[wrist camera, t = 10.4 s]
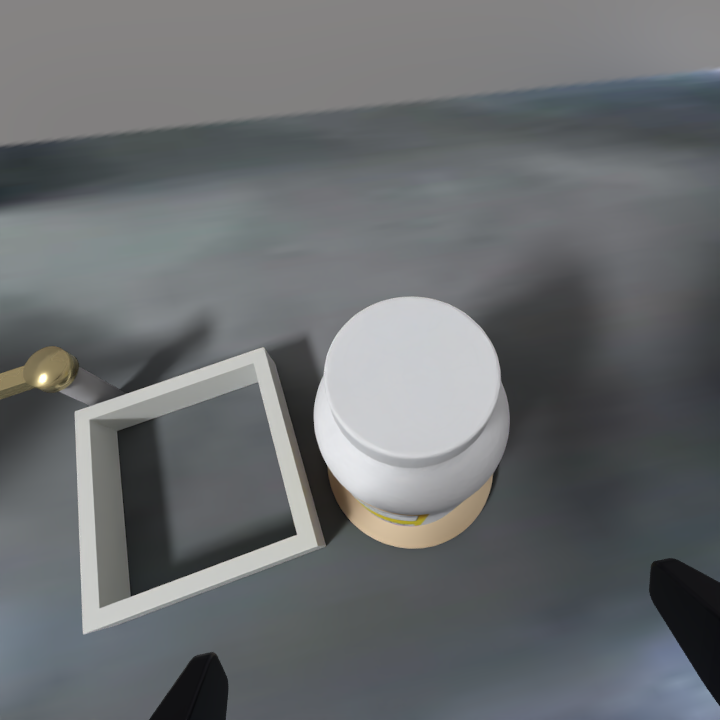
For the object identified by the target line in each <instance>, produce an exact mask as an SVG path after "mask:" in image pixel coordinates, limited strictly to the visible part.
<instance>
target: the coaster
mask: <svg viewBox="0 0 720 720" xmlns="http://www.w3.org/2000/svg"><path fill="white" fill-rule="evenodd" d="M327 468H328V476H329V481H330V485H331V488H332V491H333V494H334V496H335V499H336V501H337V502H338V504H339V506H340V508H341V509H342V511H343V512H344V513H345V515H346V516H347V517H348V519H349V520H350V521H351V522H352V523H353V524H354V525H355V526H356V527H357V528H359V529H360V530H361V531H363V532H364V533H365V534H367V535H368V536H370V537H372V538H374V539H375V540H378V541H380V542H382V543H385V544H388V545H391V546H395V547H401V548H425V547H431V546H435V545H438V544H441V543H444V542H446V541H448V540H450V539H452V538H454V537H456V536H457V535H458V534H460V533H461V532H463V531H464V530H465V529H466V528H467V527H468V526H469V525H470V524H471V523H472V522H473V521H474V520H475V519H476V517H477V516H478V515H479V514H480V512H481V510H482V508H483V507H484V505H485V503H486V500H487V498H488V495H489V493H490V489H491V485H492V479H493V474H492V475H491V477H490V478H489V479H488V481H487V482H486V483H485V484H484V485H483V486H482V487H481V488H480V489H479V490H478V491H476V492H475V493H474V494H473V495H471V496H470V497H469V498H467V499H466V500H465V501H463V502H462V503H461V504H460V505H459V506H458V507H456V508H455V509H454V510H452V511H451V512H450V513H448V514H447V515H446V516H444V517H443V518H441V519H439V520H437V521H435V522H432V523H429V524H426V525H421V526H400V525H395V524H391V523H389V522H386V521H384V520H382V519H379V518H378V517H376V516H374V515H373V514H372V513H370V512H369V511H368V510H366V509H365V508H364V507H363V506H362V505H361V504H360V503H359V502H358V501H357V500H356V499H355V497H354V496H353V495H352V494H351V493H350V492H349V491H348V490H347V489H346V488H345V487H344V486H342V484H341V483H340V482H339V481H338V480H337V479H336V477H335V476H334V475H333V473H332V472H331V470H330V469H329V467H328V466H327Z"/></svg>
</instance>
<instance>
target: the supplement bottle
mask: <svg viewBox="0 0 720 720" xmlns="http://www.w3.org/2000/svg"><path fill="white" fill-rule="evenodd" d="M509 426H510V414H509V405H508V400H507V396H506V393H505V390H504V387H503V385H502V382H501V370H500V365H499V360H498V356H497V353H496V351H495V348H494V346H493V344H492V342H491V340H490V339H489V338H488V336H487V335H486V333H485V332H484V330H483V329H482V328H481V327H480V326H479V325H478V324H477V323H476V322H475V321H474V320H473V319H472V318H470V317H469V316H468V315H467V314H465V313H464V312H462V311H461V310H459V309H458V308H456V307H454V306H452V305H449V304H447V303H445V302H442V301H439V300H435V299H431V298H425V297H398V298H392V299H388V300H384V301H381V302H378V303H375V304H373V305H371V306H369V307H367V308H365V309H364V310H362V311H360V312H359V313H357V314H356V315H355V316H353V317H352V318H351V319H350V320H349V321H348V322H347V323H346V324H345V325H344V326H343V327H342V328H341V330H340V331H339V332H338V333H337V335H336V337H335V338H334V340H333V342H332V344H331V346H330V348H329V351H328V354H327V357H326V362H325V368H324V376H323V378H322V380H321V382H320V385H319V388H318V391H317V395H316V399H315V405H314V429H315V435H316V439H317V442H318V445H319V448H320V451H321V454H322V456H323V458H324V460H325V462H326V464H327V466H328V467H329V469H330V470H331V472H332V473H333V475H334V476H335V477H336V479H337V480H338V481H339V482H340V483H341V484H342V486H344V487H345V488H346V489H347V490H348V491H349V492H350V493H351V494H352V495H353V496H354V497H355V499H356V500H357V501H358V502H359V503H360V504H361V505H362V506H363V507H364V508H365V509H366V510H368V511H369V512H370V513H372V514H373V515H374V516H376V517H378V518H379V519H382V520H384V521H386V522H389V523H391V524H395V525H400V526H421V525H426V524H429V523H432V522H435V521H437V520H439V519H441V518H443V517H444V516H446V515H447V514H448V513H450V512H451V511H452V510H454V509H455V508H456V507H458V506H459V505H460V504H461V503H462V502H463V501H465V500H466V499H467V498H469V497H470V496H471V495H473V494H474V493H475V492H476V491H478V490H479V489H480V488H481V487H482V486H483V485H484V484H485V483H486V482H487V481H488V479H489V478H490V477H491V475H492V474H493V473H494V471H495V470H496V468H497V466H498V464H499V462H500V460H501V458H502V456H503V453H504V451H505V448H506V444H507V440H508V435H509Z"/></svg>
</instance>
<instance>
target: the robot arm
mask: <svg viewBox="0 0 720 720" xmlns="http://www.w3.org/2000/svg"><path fill="white" fill-rule="evenodd" d="M649 592H650V596H651V599H652V601H653V603H654V605H655V606H656V608H657V610H658V611H659V613H660V614H661V616H662V618H663V619H664V621H665V622H666V624H667V626H668V627H669V629H670V630H671V632H672V634H673V635H674V637H675V638H676V640H677V642H678V643H679V645H680V647H681V648H682V650H683V651H684V653H685V655H686V656H687V658H688V659H689V661H690V663H691V664H692V666H693V667H694V669H695V671H696V672H697V674H698V675H699V677H700V678H701V680H702V681H703V683H704V684H705V686H706V687H707V689H708V690H709V692H710V693H711V695H712V696H713V697H714V699H715V700H716V702H717V703H718V704H719V706H720V582H718V581H716V580H714V579H712V578H710V577H709V576H707V575H705V574H703V573H701V572H699V571H698V570H696V569H694V568H692V567H690V566H688V565H686V564H685V563H683V562H681V561H679V560H676V559H673V558H668V559H663V560H658V561H654V562H653V563H652V564H651V571H650V585H649ZM227 700H228V679H227V676H226V674H225V672H224V669H223V667H222V665H221V663H220V661H219V658H218V656H217V655H216V654H215V653H214V652H210V653H205V654H200V655H197V656H195V657H193V658H192V659H191V661H190V662H189V663H188V665H187V666H186V668H185V669H184V670H183V672H182V673H181V675H180V676H179V678H178V679H177V680H176V682H175V683H174V685H173V686H172V688H171V689H170V690H169V692H168V693H167V695H166V696H165V698H164V699H163V700H162V702H161V703H160V705H159V706H158V708H157V709H156V710H155V712H154V713H153V715H152V716H151V718H150V719H149V720H226V710H227Z"/></svg>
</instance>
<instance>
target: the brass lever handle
mask: <svg viewBox="0 0 720 720" xmlns="http://www.w3.org/2000/svg"><path fill="white" fill-rule="evenodd" d="M78 371H79V363H78V360H77V359H76V358H75V357H74V356H73V355H71V354H69V353H68V352H66V351H64V350H62V349H61V348H59V347H55V346H50V347H45V348H42V349H40V350H38V351H37V352H35V353H34V354H33V355H32V356H31V357H30V358H29V359H28V361H27V362H26V364H25V366H22V367H19V368H16V369H13V370H10V371H7V372H4V373H1V374H0V400H1V399H4V398H6V397H9V396H12V395H15V394H18V393H21V392H24V391H27V390H30V389H33V388H38V389H40V390H42V391H45V392H48V393H55V392H59V391H61V390H63V389H65V388H66V387H68V386H69V385H70V384H71V383H72V382H73V381H74V379H75V378H76V376H77V374H78Z"/></svg>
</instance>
